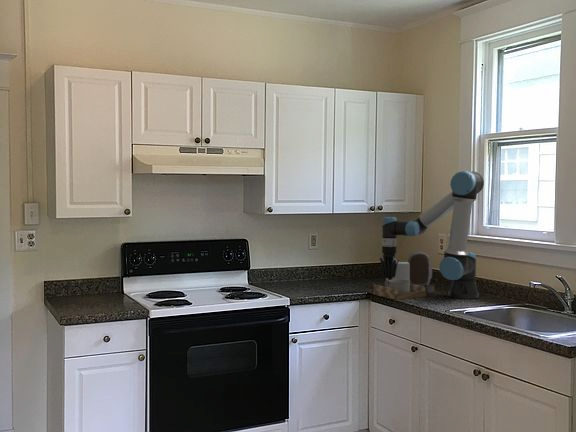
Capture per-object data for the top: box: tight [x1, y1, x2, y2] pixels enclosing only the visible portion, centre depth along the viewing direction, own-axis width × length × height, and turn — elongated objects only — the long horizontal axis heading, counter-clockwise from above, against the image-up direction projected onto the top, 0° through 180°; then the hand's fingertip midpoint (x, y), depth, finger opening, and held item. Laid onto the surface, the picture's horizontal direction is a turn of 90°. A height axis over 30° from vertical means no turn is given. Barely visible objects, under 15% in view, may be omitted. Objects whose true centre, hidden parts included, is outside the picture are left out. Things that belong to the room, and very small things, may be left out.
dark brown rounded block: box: [407, 250, 434, 287], centre depth 361 cm, size 15×8×20 cm, turn 78°
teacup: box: [384, 279, 410, 293], centre depth 326 cm, size 14×11×8 cm
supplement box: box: [392, 261, 410, 281], centre depth 346 cm, size 9×9×15 cm
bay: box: [373, 278, 439, 301], centre depth 327 cm, size 21×27×9 cm
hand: (388, 290), depth 334 cm, fingers closed
